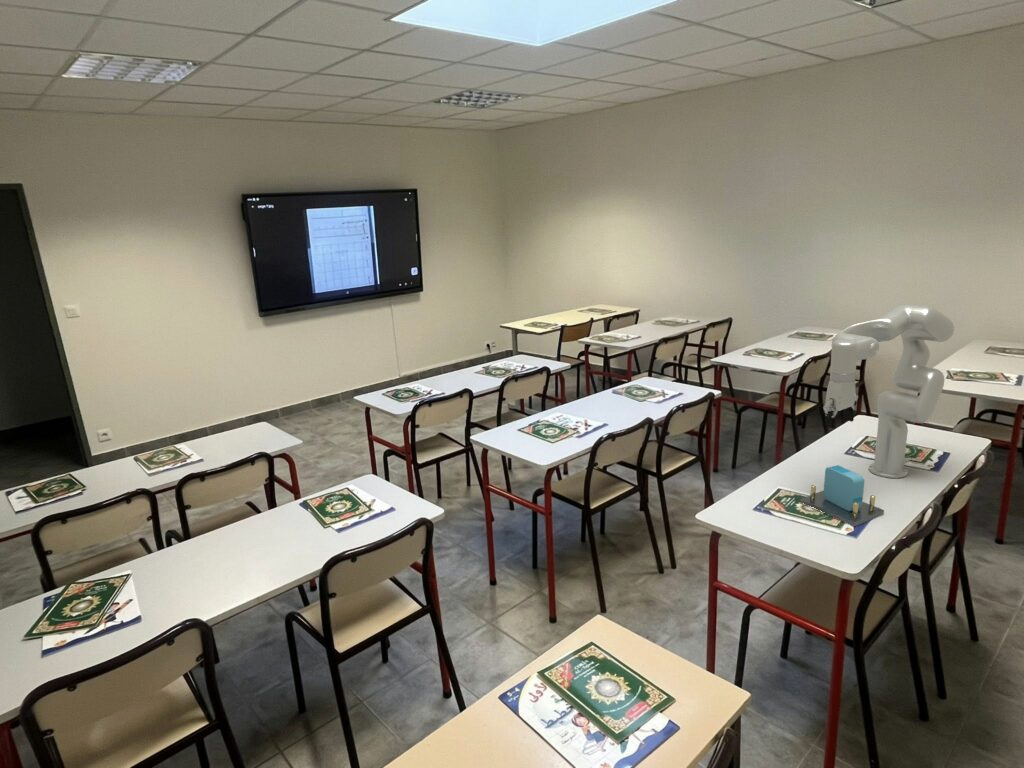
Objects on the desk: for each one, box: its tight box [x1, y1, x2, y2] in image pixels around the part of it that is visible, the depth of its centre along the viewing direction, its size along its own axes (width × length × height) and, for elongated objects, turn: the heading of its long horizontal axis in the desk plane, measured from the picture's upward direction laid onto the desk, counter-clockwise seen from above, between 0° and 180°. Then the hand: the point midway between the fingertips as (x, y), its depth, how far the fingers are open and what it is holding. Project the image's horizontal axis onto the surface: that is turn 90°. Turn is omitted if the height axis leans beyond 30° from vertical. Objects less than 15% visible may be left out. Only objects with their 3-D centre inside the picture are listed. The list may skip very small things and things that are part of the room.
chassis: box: [799, 484, 885, 527], centre depth 206 cm, size 15×20×6 cm
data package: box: [823, 465, 865, 511], centre depth 205 cm, size 12×4×12 cm, turn 18°
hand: (839, 423), depth 210 cm, fingers open, 9 cm apart
